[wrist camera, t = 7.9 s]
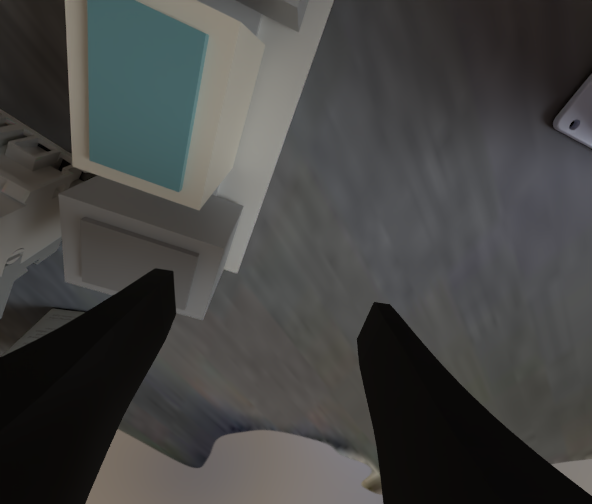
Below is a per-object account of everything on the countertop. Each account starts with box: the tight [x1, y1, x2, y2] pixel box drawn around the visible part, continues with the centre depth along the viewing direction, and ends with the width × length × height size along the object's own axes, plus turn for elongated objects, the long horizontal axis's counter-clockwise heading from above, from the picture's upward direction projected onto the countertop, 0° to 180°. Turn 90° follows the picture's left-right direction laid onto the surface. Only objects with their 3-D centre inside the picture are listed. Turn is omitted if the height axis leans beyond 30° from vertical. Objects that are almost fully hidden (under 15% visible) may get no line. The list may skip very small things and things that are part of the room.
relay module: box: [65, 0, 265, 210], centre depth 11 cm, size 4×6×6 cm
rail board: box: [59, 0, 334, 320], centre depth 12 cm, size 9×20×7 cm, turn 158°
